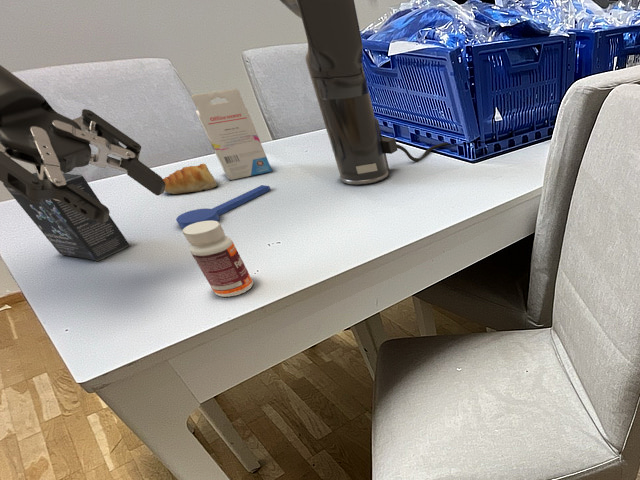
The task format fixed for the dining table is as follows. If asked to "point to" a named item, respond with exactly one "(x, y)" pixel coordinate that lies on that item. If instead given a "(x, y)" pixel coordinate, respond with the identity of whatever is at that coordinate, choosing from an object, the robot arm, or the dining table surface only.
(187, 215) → the spoon
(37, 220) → the box
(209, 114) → the ink box
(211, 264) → the pill bottle
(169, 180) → the pastry
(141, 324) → the dining table surface
